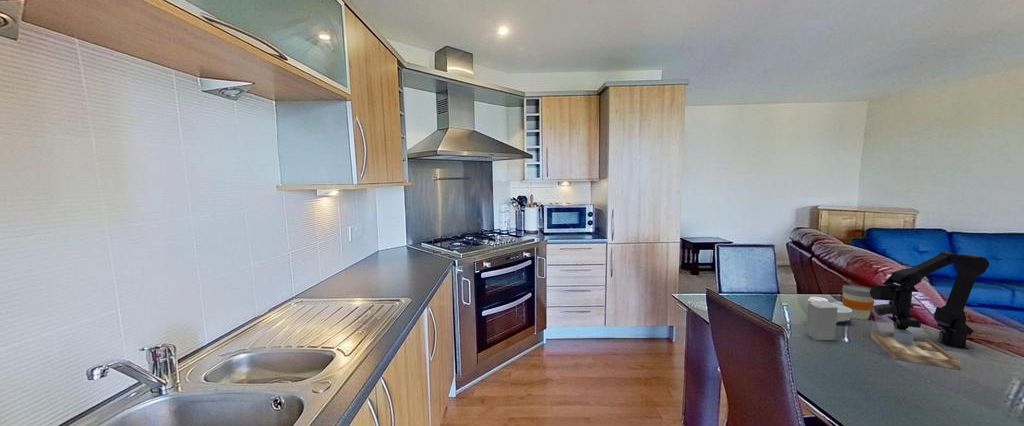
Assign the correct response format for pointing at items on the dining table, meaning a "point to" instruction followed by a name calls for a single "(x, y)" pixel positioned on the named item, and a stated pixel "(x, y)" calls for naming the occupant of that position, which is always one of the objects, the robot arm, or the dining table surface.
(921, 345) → the tray
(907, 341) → the slate block
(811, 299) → the paper cup
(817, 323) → the skincare box
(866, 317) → the reusable coffee cup
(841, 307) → the cereal bowl
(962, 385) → the dining table surface
